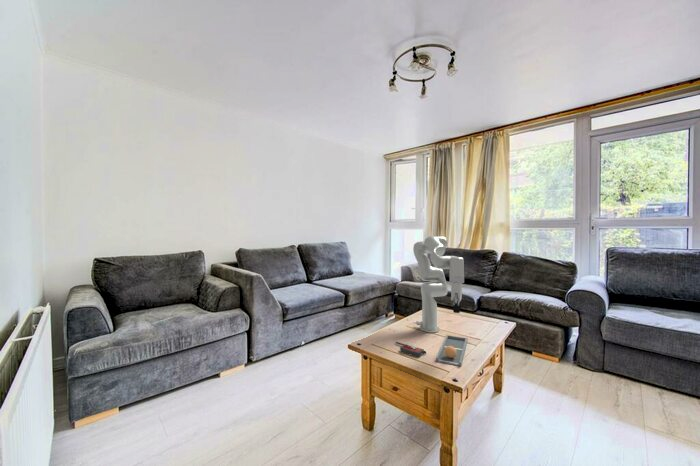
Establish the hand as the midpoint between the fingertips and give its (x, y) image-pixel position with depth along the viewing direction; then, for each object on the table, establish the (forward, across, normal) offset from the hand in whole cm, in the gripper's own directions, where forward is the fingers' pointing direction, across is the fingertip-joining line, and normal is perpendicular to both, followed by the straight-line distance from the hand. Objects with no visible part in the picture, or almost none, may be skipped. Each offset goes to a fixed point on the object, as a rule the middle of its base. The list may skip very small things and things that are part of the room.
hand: (457, 310), depth 158 cm
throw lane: (+23, -1, -3) cm, 23 cm away
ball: (+20, +9, -3) cm, 22 cm away
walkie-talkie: (+23, +9, -26) cm, 36 cm away
